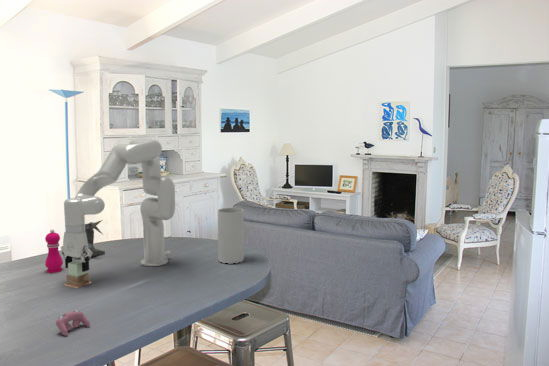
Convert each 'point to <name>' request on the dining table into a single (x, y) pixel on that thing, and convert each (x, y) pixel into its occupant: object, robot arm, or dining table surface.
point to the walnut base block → (77, 280)
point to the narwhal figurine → (92, 238)
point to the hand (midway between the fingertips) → (77, 269)
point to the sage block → (75, 268)
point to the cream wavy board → (78, 286)
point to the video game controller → (73, 315)
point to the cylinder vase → (230, 235)
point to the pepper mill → (53, 253)
